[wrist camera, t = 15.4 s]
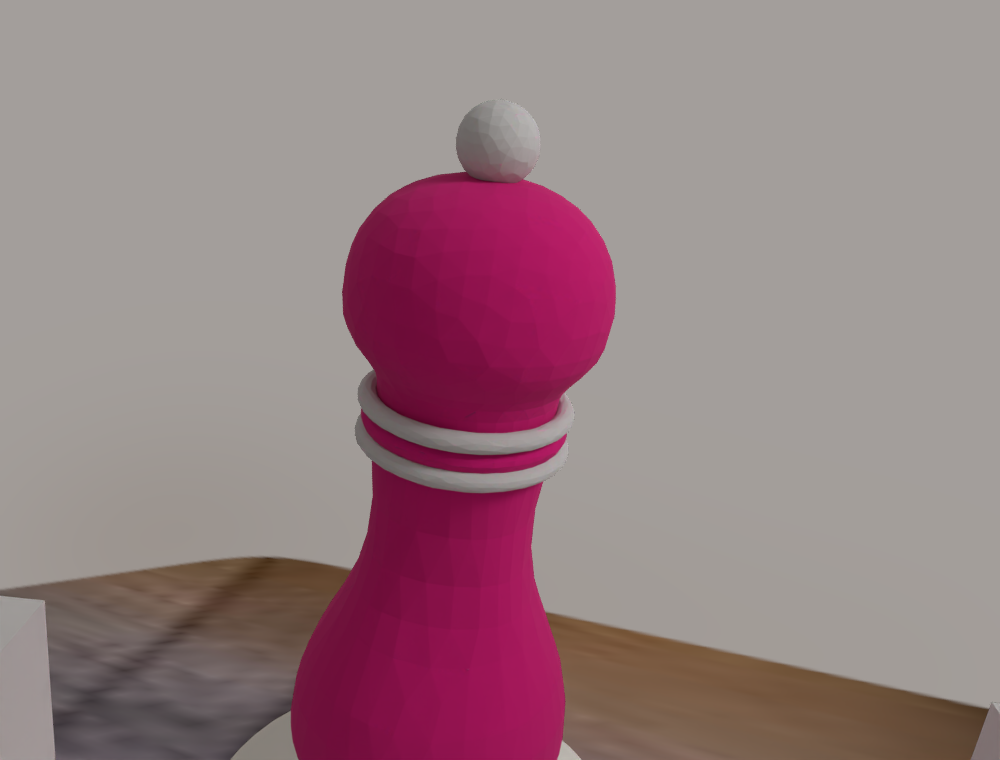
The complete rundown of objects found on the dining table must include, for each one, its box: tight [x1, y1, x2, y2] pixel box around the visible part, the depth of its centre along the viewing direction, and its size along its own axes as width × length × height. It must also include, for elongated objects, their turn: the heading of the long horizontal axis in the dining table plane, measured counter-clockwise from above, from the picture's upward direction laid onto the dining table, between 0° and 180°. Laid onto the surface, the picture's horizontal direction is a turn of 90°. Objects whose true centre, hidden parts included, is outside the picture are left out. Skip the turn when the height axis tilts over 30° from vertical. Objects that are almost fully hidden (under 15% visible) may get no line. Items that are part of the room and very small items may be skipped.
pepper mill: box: [291, 100, 616, 760], centre depth 22 cm, size 7×7×20 cm
